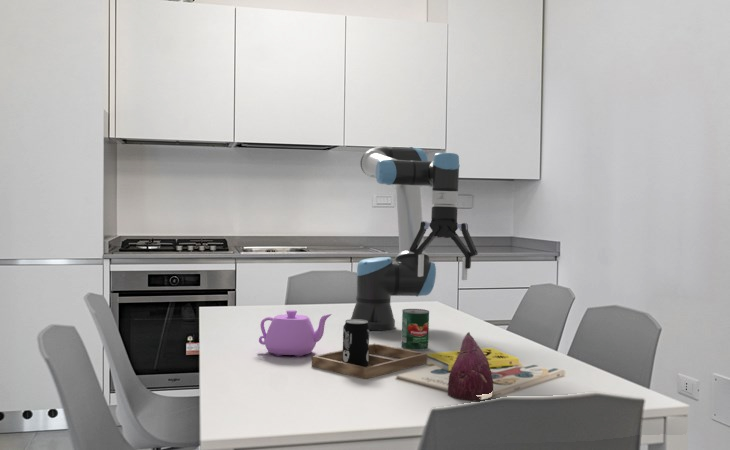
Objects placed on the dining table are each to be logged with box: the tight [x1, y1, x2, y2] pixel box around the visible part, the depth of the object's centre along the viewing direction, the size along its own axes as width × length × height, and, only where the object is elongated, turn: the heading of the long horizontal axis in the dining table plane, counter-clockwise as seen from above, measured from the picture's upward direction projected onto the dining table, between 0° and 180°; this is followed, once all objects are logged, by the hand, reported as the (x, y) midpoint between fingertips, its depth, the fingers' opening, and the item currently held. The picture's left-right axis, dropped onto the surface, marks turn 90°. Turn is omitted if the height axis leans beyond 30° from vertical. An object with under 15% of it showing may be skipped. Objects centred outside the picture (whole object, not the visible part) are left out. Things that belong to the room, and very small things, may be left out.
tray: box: [311, 343, 428, 380], centre depth 185 cm, size 18×25×2 cm
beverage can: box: [341, 318, 370, 367], centre depth 180 cm, size 7×7×12 cm
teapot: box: [258, 309, 333, 357], centre depth 196 cm, size 20×13×12 cm, turn 87°
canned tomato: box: [400, 308, 430, 352], centre depth 208 cm, size 8×8×11 cm
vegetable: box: [447, 331, 494, 402], centre depth 159 cm, size 10×10×15 cm
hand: (442, 278), depth 210 cm, fingers open, 13 cm apart
